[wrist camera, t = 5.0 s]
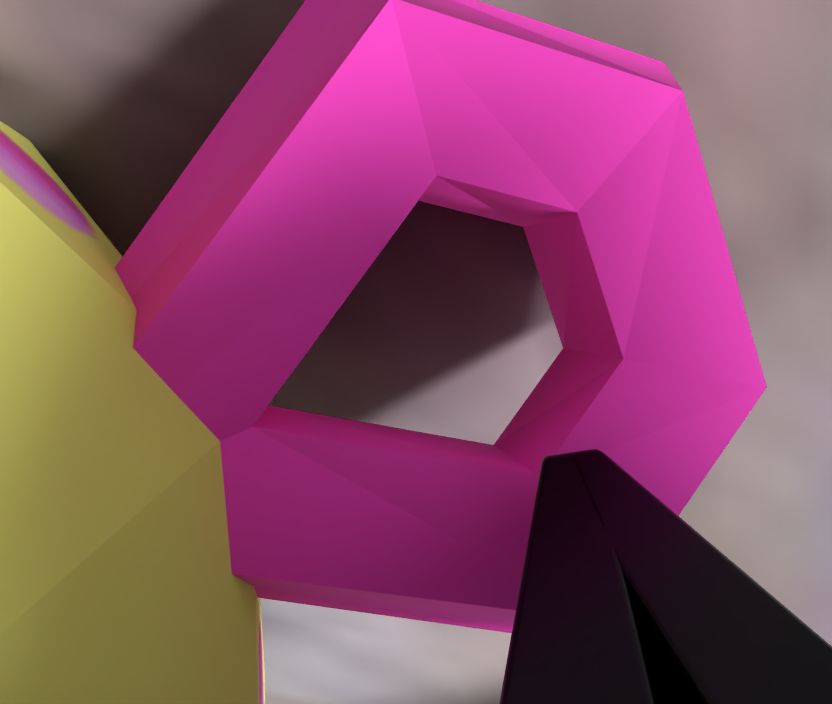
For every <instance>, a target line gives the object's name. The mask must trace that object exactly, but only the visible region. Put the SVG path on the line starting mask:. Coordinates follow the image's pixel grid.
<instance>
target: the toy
mask: <svg viewBox="0 0 832 704" xmlns="http://www.w3.org/2000/svg"><path fill="white" fill-rule="evenodd" d="M418 201H422V202H426V203H430V204H434V205H438V206H442V207H446V208H450V209H454V210H458V211H462V212H466V213H470V214H474V215H478V216H482V217H486V218H490V219H494V220H498V221H502V222H506V223H510V224H514V225H518V226H522V227H523V228H524V231H525V234H526V237H527V240H528V243H529V246H530V249H531V252H532V255H533V258H534V261H535V264H536V267H537V270H538V273H539V276H540V279H541V282H542V285H543V288H544V291H545V294H546V297H547V300H548V303H549V306H550V309H551V312H552V315H553V319H554V322H555V325H556V328H557V331H558V334H559V337H560V340H561V343H562V346H563V349H562V351H561V352H560V354H559V355H558V356H557V358H556V359H555V361H554V362H553V363H552V365H551V366H550V367H549V369H548V370H547V372H546V373H545V374H544V376H543V377H542V379H541V380H540V381H539V383H538V384H537V386H536V387H535V388H534V390H533V391H532V393H531V394H530V395H529V397H528V398H527V400H526V401H525V402H524V404H523V405H522V407H521V408H520V409H519V411H518V412H517V413H516V415H515V416H514V418H513V419H512V420H511V422H510V423H509V425H508V426H507V427H506V429H505V430H504V432H503V433H502V434H501V436H500V437H499V439H498V440H497V441H496V443H495V444H494V445H490V444H484V443H478V442H473V441H467V440H461V439H456V438H450V437H445V436H439V435H433V434H428V433H422V432H416V431H411V430H405V429H399V428H394V427H388V426H382V425H377V424H371V423H365V422H360V421H354V420H348V419H343V418H337V417H332V416H326V415H320V414H315V413H309V412H303V411H298V410H292V409H286V408H281V407H275V406H269V404H270V402H271V401H272V400H273V398H274V397H275V395H276V394H277V393H278V391H279V390H280V389H281V387H282V386H283V385H284V383H285V382H286V380H287V379H288V378H289V376H290V375H291V374H292V372H293V371H294V370H295V368H296V367H297V365H298V364H299V363H300V361H301V360H302V359H303V357H304V356H305V355H306V353H307V352H308V350H309V349H310V348H311V346H312V345H313V344H314V342H315V341H316V340H317V338H318V337H319V335H320V334H321V333H322V331H323V330H324V329H325V327H326V326H327V325H328V323H329V322H330V320H331V319H332V318H333V316H334V315H335V314H336V312H337V311H338V310H339V308H340V307H341V305H342V304H343V303H344V301H345V300H346V299H347V297H348V296H349V294H350V293H351V292H352V290H353V289H354V288H355V286H356V285H357V284H358V282H359V281H360V279H361V278H362V277H363V275H364V274H365V273H366V271H367V270H368V269H369V267H370V266H371V264H372V263H373V262H374V260H375V259H376V258H377V256H378V255H379V254H380V252H381V251H382V249H383V248H384V247H385V245H386V244H387V243H388V241H389V240H390V239H391V237H392V236H393V234H394V233H395V232H396V230H397V229H398V228H399V226H400V225H401V224H402V222H403V221H404V219H405V218H406V217H407V215H408V214H409V213H410V211H411V210H412V208H413V207H414V206H415V204H416V203H417V202H418ZM766 388H767V387H766V383H765V380H764V376H763V372H762V369H761V365H760V362H759V358H758V355H757V351H756V348H755V344H754V341H753V337H752V334H751V330H750V326H749V323H748V319H747V316H746V312H745V309H744V305H743V302H742V298H741V295H740V291H739V287H738V284H737V280H736V277H735V273H734V270H733V266H732V263H731V259H730V256H729V252H728V249H727V245H726V241H725V238H724V234H723V231H722V227H721V224H720V220H719V217H718V213H717V210H716V206H715V203H714V199H713V195H712V192H711V188H710V185H709V181H708V178H707V174H706V171H705V167H704V164H703V160H702V156H701V153H700V149H699V146H698V142H697V139H696V135H695V132H694V128H693V125H692V121H691V118H690V114H689V110H688V107H687V103H686V100H685V96H684V93H683V90H682V89H681V87H680V86H679V84H678V83H677V81H676V80H675V78H674V77H673V76H672V74H671V73H670V71H669V70H668V68H667V67H666V65H665V64H664V62H661V61H658V60H655V59H652V58H649V57H646V56H643V55H640V54H637V53H634V52H631V51H628V50H625V49H622V48H619V47H616V46H613V45H610V44H607V43H604V42H600V41H597V40H594V39H591V38H588V37H585V36H582V35H579V34H576V33H573V32H570V31H567V30H564V29H561V28H558V27H555V26H552V25H549V24H546V23H543V22H540V21H537V20H534V19H531V18H528V17H525V16H522V15H519V14H515V13H512V12H509V11H506V10H503V9H500V8H497V7H494V6H491V5H488V4H485V3H482V2H479V1H476V0H305V1H304V3H303V4H302V6H301V7H300V8H299V10H298V11H297V13H296V14H295V15H294V17H293V18H292V20H291V21H290V22H289V24H288V25H287V27H286V28H285V29H284V31H283V32H282V34H281V35H280V36H279V38H278V39H277V41H276V42H275V43H274V45H273V46H272V48H271V49H270V50H269V52H268V53H267V55H266V56H265V57H264V59H263V60H262V62H261V63H260V65H259V66H258V67H257V69H256V70H255V72H254V73H253V74H252V76H251V77H250V79H249V80H248V81H247V83H246V84H245V86H244V87H243V88H242V90H241V91H240V93H239V94H238V95H237V97H236V98H235V100H234V101H233V102H232V104H231V105H230V107H229V108H228V109H227V111H226V112H225V114H224V115H223V116H222V118H221V119H220V121H219V122H218V123H217V125H216V126H215V128H214V129H213V130H212V132H211V133H210V135H209V136H208V137H207V139H206V140H205V142H204V143H203V145H202V146H201V147H200V149H199V150H198V152H197V153H196V154H195V156H194V157H193V159H192V160H191V161H190V163H189V164H188V166H187V167H186V168H185V170H184V171H183V173H182V174H181V175H180V177H179V178H178V180H177V181H176V182H175V184H174V185H173V187H172V188H171V189H170V191H169V192H168V194H167V195H166V196H165V198H164V199H163V201H162V202H161V203H160V205H159V206H158V208H157V209H156V210H155V212H154V213H153V215H152V216H151V218H150V219H149V220H148V222H147V223H146V225H145V226H144V227H143V229H142V230H141V232H140V233H139V234H138V236H137V237H136V239H135V240H134V241H133V243H132V244H131V246H130V247H129V248H128V250H127V251H126V253H125V254H124V255H123V257H122V255H121V254H120V253H119V252H118V250H117V249H116V248H115V247H114V245H113V244H112V243H111V242H110V240H109V239H108V238H107V237H106V235H105V234H104V233H103V232H102V230H101V229H100V228H99V227H98V225H97V224H96V223H95V222H94V220H93V219H92V218H91V217H90V215H89V214H88V213H87V212H86V210H85V209H84V208H83V207H82V205H81V204H80V203H79V202H78V200H77V199H76V198H75V197H74V195H73V194H72V193H71V192H70V190H69V189H68V188H67V187H66V185H65V184H64V183H63V182H62V180H61V179H60V178H59V177H58V175H57V174H56V173H55V172H54V170H53V169H52V168H51V167H50V165H49V164H48V163H47V162H46V160H45V159H44V158H43V157H42V155H41V154H40V153H39V152H38V150H37V149H36V148H35V147H34V145H33V144H32V143H31V142H30V140H28V139H27V138H25V137H24V136H22V135H21V134H19V133H18V132H16V131H15V130H13V129H12V128H10V127H9V126H7V125H6V124H4V123H3V122H1V121H0V704H265V671H264V654H263V637H262V620H261V603H260V598H265V599H272V600H279V601H287V602H294V603H301V604H308V605H315V606H322V607H329V608H337V609H344V610H351V611H358V612H365V613H372V614H379V615H386V616H394V617H401V618H408V619H415V620H422V621H429V622H436V623H444V624H451V625H458V626H465V627H472V628H479V629H486V630H493V631H501V632H508V633H512V630H513V624H514V618H515V612H516V607H517V601H518V595H519V589H520V584H521V578H522V572H523V566H524V561H525V555H526V549H527V543H528V538H529V532H530V526H531V520H532V515H533V509H534V503H535V497H536V492H537V486H538V480H539V474H540V469H541V463H542V460H543V458H544V457H546V456H550V455H556V454H563V453H569V452H576V451H583V450H589V449H598V450H600V451H602V452H604V453H605V454H606V455H607V456H608V457H609V458H611V459H612V460H613V461H614V462H615V463H616V464H618V465H619V466H620V467H621V468H622V469H624V470H625V471H626V472H627V473H628V474H629V475H631V476H632V477H633V478H634V479H635V480H636V481H638V482H639V483H640V484H641V485H642V486H644V487H645V488H646V489H647V490H648V491H649V492H651V493H652V494H653V495H654V496H655V497H656V498H658V499H659V500H660V501H661V502H662V503H664V504H665V505H666V506H667V507H668V508H669V509H671V510H672V511H673V512H674V513H675V514H676V515H679V514H680V513H681V511H682V510H683V508H684V507H685V505H686V504H687V502H688V501H689V500H690V498H691V497H692V495H693V494H694V492H695V491H696V489H697V488H698V486H699V485H700V484H701V482H702V481H703V479H704V478H705V476H706V475H707V473H708V472H709V470H710V469H711V468H712V466H713V465H714V463H715V462H716V460H717V459H718V457H719V456H720V455H721V453H722V452H723V450H724V449H725V447H726V446H727V444H728V443H729V441H730V440H731V439H732V437H733V436H734V434H735V433H736V431H737V430H738V428H739V427H740V425H741V424H742V423H743V421H744V420H745V418H746V417H747V415H748V414H749V412H750V411H751V410H752V408H753V407H754V405H755V404H756V402H757V401H758V399H759V398H760V396H761V395H762V394H763V392H764V391H765V389H766Z"/></svg>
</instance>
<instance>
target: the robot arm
mask: <svg viewBox="0 0 832 704" xmlns="http://www.w3.org/2000/svg"><path fill="white" fill-rule="evenodd" d="M500 704H832V646H831V645H829V644H828V643H827V642H826V641H825V640H824V639H822V638H821V637H820V636H819V635H818V634H816V633H815V632H814V631H813V630H812V629H811V628H809V627H808V626H807V625H806V624H805V623H804V622H802V621H801V620H800V619H799V618H798V617H796V616H795V615H794V614H793V613H792V612H791V611H789V610H788V609H787V608H786V607H785V606H784V605H782V604H781V603H780V602H779V601H778V600H776V599H775V598H774V597H773V596H772V595H771V594H769V593H768V592H767V591H766V590H765V589H764V588H762V587H761V586H760V585H759V584H758V583H756V582H755V581H754V580H753V579H752V578H751V577H749V576H748V575H747V574H746V573H745V572H744V571H742V570H741V569H740V568H739V567H738V566H736V565H735V564H734V563H733V562H732V561H731V560H729V559H728V558H727V557H726V556H725V555H724V554H722V553H721V552H720V551H719V550H718V549H716V548H715V547H714V546H713V545H712V544H711V543H709V542H708V541H707V540H706V539H705V538H704V537H702V536H701V535H700V534H699V533H698V532H696V531H695V530H694V529H693V528H692V527H691V526H689V525H688V524H687V523H686V522H685V521H684V520H682V519H681V518H680V517H679V516H678V515H676V514H675V513H674V512H673V511H672V510H671V509H669V508H668V507H667V506H666V505H665V504H664V503H662V502H661V501H660V500H659V499H658V498H656V497H655V496H654V495H653V494H652V493H651V492H649V491H648V490H647V489H646V488H645V487H644V486H642V485H641V484H640V483H639V482H638V481H636V480H635V479H634V478H633V477H632V476H631V475H629V474H628V473H627V472H626V471H625V470H624V469H622V468H621V467H620V466H619V465H618V464H616V463H615V462H614V461H613V460H612V459H611V458H609V457H608V456H607V455H606V454H605V453H604V452H602V451H600V450H598V449H589V450H583V451H576V452H569V453H563V454H556V455H550V456H546V457H544V458H543V460H542V463H541V469H540V474H539V480H538V486H537V492H536V497H535V503H534V509H533V515H532V520H531V526H530V532H529V538H528V543H527V549H526V555H525V561H524V566H523V572H522V578H521V584H520V589H519V595H518V601H517V607H516V612H515V618H514V624H513V630H512V635H511V641H510V647H509V653H508V658H507V664H506V670H505V675H504V681H503V687H502V693H501V698H500Z"/></svg>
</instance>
